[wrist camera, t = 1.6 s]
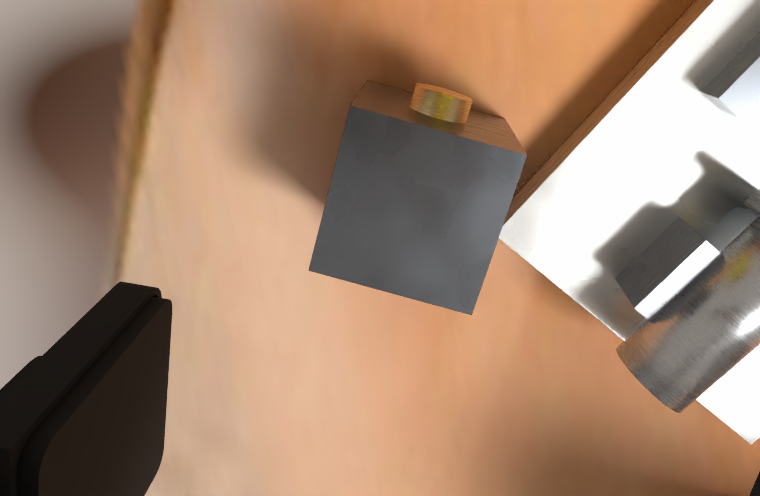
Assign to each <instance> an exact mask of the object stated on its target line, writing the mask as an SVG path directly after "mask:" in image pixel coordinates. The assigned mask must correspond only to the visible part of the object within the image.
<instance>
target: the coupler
mask: <svg viewBox="0 0 760 496" xmlns="http://www.w3.org/2000/svg"><path fill="white" fill-rule="evenodd" d="M472 101H473V99H471V98H470V97H468V96H466V95H463V94H461V93H458V92H455V91H452V90H449V89H445V88H442V87H438V86H434V85H430V84H424V83H416V86H415V89H414V93H411V92H408V91H404V90H401V89H397V88H394V87H390V86H387V85H383V84H380V83H376V82H373V81H369V80H367V82H366V83H365V85H364V86H363V88H362V89H361V91H360V92H359V93H358V95H357V96H356V98H355V99H354V101H353V102H352V104H351V105H350V108H349V112H348V116H347V120H346V124H345V128H344V132H343V136H342V140H341V144H340V148H339V152H338V156H337V160H336V164H335V168H334V172H333V176H332V180H331V184H330V188H329V192H328V195H327V199H326V203H325V207H324V211H323V215H322V219H321V223H320V227H319V231H318V235H317V239H316V243H315V247H314V251H313V255H312V259H311V263H310V267H309V271H312V272H316V273H320V274H323V275H327V276H331V277H334V278H338V279H342V280H345V281H349V282H352V283H356V284H360V285H363V286H367V287H371V288H374V289H378V290H382V291H385V292H389V293H393V294H396V295H400V296H404V297H407V298H411V299H415V300H418V301H422V302H425V303H429V304H433V305H436V306H440V307H444V308H447V309H451V310H455V311H458V312H462V313H466V314H469V315H472V313H473V310H474V307H475V304H476V301H477V298H478V295H479V293H480V290H481V287H482V284H483V281H484V278H485V275H486V273H487V270H488V267H489V264H490V261H491V258H492V255H493V252H494V250H495V247H496V244H497V241H498V238H499V235H500V232H501V230H502V227H503V224H504V221H505V218H506V215H507V212H508V209H509V207H510V204H511V201H512V198H513V195H514V192H515V189H516V186H517V184H518V181H519V178H520V175H521V172H522V169H523V166H524V164H525V161H526V158H527V154H526V152H525V150H524V149H523V147H522V146H521V144H520V142H519V141H518V139H517V138H516V136H515V134H514V133H513V131H512V129H511V128H510V126H509V125H508V123H507V121H506V120H505V119H503V118H500V117H496V116H493V115H489V114H486V113H482V112H479V111H475V110H471V109H470V107H471V104H472Z"/></svg>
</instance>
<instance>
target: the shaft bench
mask: <svg viewBox="0 0 760 496" xmlns="http://www.w3.org/2000/svg"><path fill="white" fill-rule="evenodd" d="M499 239H501V240H502V241H503V242H504V243H505V244H507V245H508V246H509V247H510V248H512V249H513V250H514V251H515V252H516V253H518V254H519V255H520V256H521V257H523V258H524V259H525V260H526V261H527V262H529V263H530V264H531V265H532V266H534V267H535V268H536V269H537V270H538V271H540V272H541V273H542V274H543V275H544V276H546V277H547V278H548V279H549V280H551V281H552V282H553V283H554V284H555V285H557V286H558V287H559V288H560V289H562V290H563V291H564V292H565V293H566V294H568V295H569V296H570V297H571V298H573V299H574V300H575V301H576V302H577V303H579V304H580V305H581V306H582V307H584V308H585V309H586V310H587V311H588V312H590V313H591V314H592V315H593V316H595V317H596V318H597V319H598V320H599V321H601V322H602V323H603V324H604V325H606V326H607V327H608V328H609V329H610V330H612V331H613V332H614V333H615V334H617V335H618V336H619V337H620V338H621V339H623V340H624V342H622V343H621V344H620V345H619V346H618V347H617V348H616V351H617V353H618V355H619V357H620V359H621V360H622V361H623V363H624V364H625V365H626V367H627V368H628V369H629V370H630V372H631V373H632V374H633V375H634V376H635V377H636V378H637V379H638V380H639V381H640V383H641V384H642V385H643V386H644V387H645V388H646V389H648V390H649V391H650V392H651V393H652V394H653V395H654V396H655V397H656V398H657V399H659V400H660V401H661V402H662V403H664V404H665V405H666V406H668V407H669V408H670V409H672V410H674V411H676V412H678V413H681V412H682V411H683V410H684V409H685V408H687V407H688V406H689V405H690V404H691V403H692V402H694V401H695V400H697V401H698V402H700V403H701V404H702V405H703V406H705V407H706V408H707V409H708V410H709V411H711V412H712V413H713V414H714V415H716V416H717V417H718V418H719V419H720V420H722V421H723V422H724V423H725V424H727V425H728V426H729V427H730V428H731V429H733V430H734V431H735V432H736V433H738V434H739V435H740V436H741V437H742V438H744V439H745V440H746V441H747V442H749V443H750V444H752V443H754V442H755V441H756V440H757V439H759V438H760V0H696V1H695V2H694V3H693V4H692V5H691V7H690V8H689V9H688V10H687V11H686V12H685V13H684V14H683V15H682V16H681V17H680V18H679V20H678V21H677V22H676V23H675V24H674V25H673V26H672V27H671V28H670V29H669V30H668V31H667V32H666V34H665V35H664V36H663V37H662V38H661V39H660V40H659V41H658V42H657V43H656V44H655V45H654V46H653V48H652V49H651V50H650V51H649V52H648V53H647V54H646V55H645V56H644V57H643V58H642V59H641V61H640V62H639V63H638V64H637V65H636V66H635V67H634V68H633V69H632V70H631V71H630V72H629V73H628V75H627V76H626V77H625V78H624V79H623V80H622V81H621V82H620V83H619V84H618V85H617V86H616V88H615V89H614V90H613V91H612V92H611V93H610V94H609V95H608V96H607V97H606V98H605V99H604V100H603V102H602V103H601V104H600V105H599V106H598V107H597V108H596V109H595V110H594V111H593V112H592V113H591V114H590V116H589V117H588V118H587V119H586V120H585V121H584V122H583V123H582V124H581V125H580V126H579V127H578V129H577V130H576V131H575V132H574V133H573V134H572V135H571V136H570V137H569V138H568V139H567V140H566V141H565V143H564V144H563V145H562V146H561V147H560V148H559V149H558V150H557V151H556V152H555V153H554V154H553V156H552V157H551V158H550V159H549V160H548V161H547V162H546V163H545V164H544V165H543V166H542V167H541V168H540V170H539V171H538V172H537V173H536V174H535V175H534V176H533V177H532V178H531V179H530V180H529V181H528V182H527V184H526V185H525V186H524V187H523V188H522V189H521V190H520V191H519V192H518V193H517V194H516V195H515V197H514V198H513V199H512V201H511V204H510V207H509V209H508V212H507V215H506V218H505V221H504V224H503V227H502V230H501V232H500V235H499Z"/></svg>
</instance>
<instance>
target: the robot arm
mask: <svg viewBox="0 0 760 496" xmlns="http://www.w3.org/2000/svg"><path fill="white" fill-rule="evenodd" d="M171 322H172V302H171V300H169V299H163V298H162V297H161V291H160V290H159V288H155V287H149V286H144V285H138V284H132V283H126V282H119V283H118V284H116V285H115V286H114V287H113V288H112V289H111V290H110V291H109V292H108V293H107V294H106V295H105V296H104V297H103V298H102V299H101V300H100V301H99V302H98V303H97V304H96V305H95V306H94V307H93V308H92V309H90V310H89V311H88V312H87V313H86V314H85V315H84V316H83V317H82V318H81V319H80V320H79V321H78V322H77V323H76V324H75V325H74V326H73V327H72V328H71V329H70V330H69V331H68V332H67V333H66V334H65V335H63V336H62V337H61V338H60V339H59V340H58V342H56V343H55V344H54V345H53V346H52V347H51V348H50V349H49V350H48V351H47V352H46V353H45V354H44V355H43V356H38V357H36V358H34V359H33V360H32V361H30V362H29V363H28V364H27V365H26V366H25V367H24V368H23V369H22V370H21V371H20V372H19V373H17V374H16V375H15V376H14V377H13V378H12V379H11V380H10V381H9V382H8V383H7V384H6V385H5V386H4V387H3V388H2V389H1V390H0V496H144V495H145V493H146V492H147V490H148V488H149V486H150V484H151V483H152V481H153V479H154V477H155V475H156V473H157V471H158V469H159V466H160V463H161V460H162V456H163V450H164V437H165V420H166V404H167V387H168V371H169V355H170V338H171ZM750 496H760V472H759V474H758V477H757V479H756V481H755V484H754V486H753V489H752V491H751V493H750Z"/></svg>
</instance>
